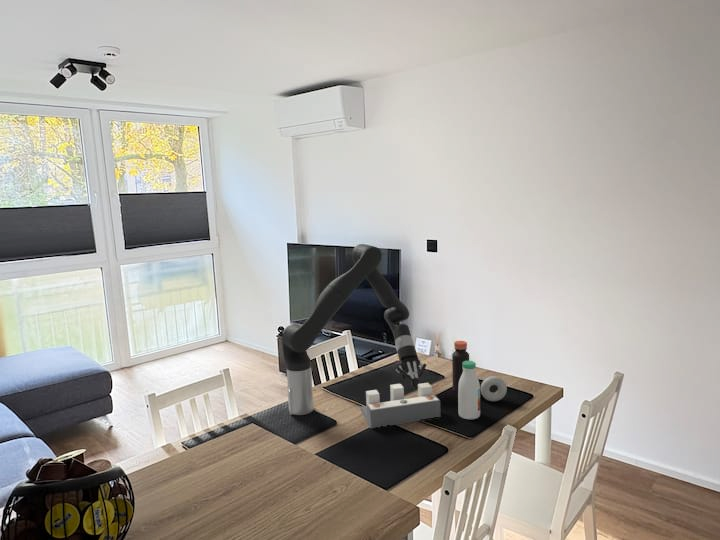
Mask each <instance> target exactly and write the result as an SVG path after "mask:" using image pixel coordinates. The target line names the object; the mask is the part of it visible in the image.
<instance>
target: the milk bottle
mask: <svg viewBox="0 0 720 540" xmlns="http://www.w3.org/2000/svg"><path fill="white" fill-rule="evenodd" d="M462 366H463V367H462V368H463V373H462V375H461V377H460V380H459V384H458V392H457V393H458V394H457V397H458V398H457V399H458V401H457V403H458V407H457V408H458V410H457V411H458V416H459V417H460V418H461V419H465V420H475V419H479V417H481V389H480V388H481V384H480V381H479V378H478V376H477V373H476V366H477V365H476V362H475V361H473V360H469V361H464V362H463V363H462Z"/></svg>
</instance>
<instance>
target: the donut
mask: <svg viewBox="0 0 720 540" xmlns="http://www.w3.org/2000/svg"><path fill="white" fill-rule="evenodd" d="M492 386H496V387H497V390H496V391H495V392H493V391H492V392H491V391H490V388H491V387H492ZM507 390H508V388H507V383H506V382H505V380H503V378H501V377H499V376H497V375H496V376H495V375H492V376H491V375H490V376H488V377H486V378H484V379H483V381H482V382H481V384H480V395H482V397H483V398H484V399H485V400H486V401H488V402H489V401H490V402H498V401H501V400H502V399H503V398H504V397H505V396H506V394H507Z"/></svg>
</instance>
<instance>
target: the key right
mask: <svg viewBox="0 0 720 540" xmlns="http://www.w3.org/2000/svg"><path fill="white" fill-rule="evenodd" d="M430 395H433V386H432V385H431V384H430V383H429V382H424V383H419V384H418V389H417V397H423V396H430Z"/></svg>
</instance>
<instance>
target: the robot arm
mask: <svg viewBox="0 0 720 540" xmlns="http://www.w3.org/2000/svg"><path fill="white" fill-rule="evenodd" d="M382 257H383V254H382V251H381V249H380V248H379V247H377V246H375V245H369V244H364V243H361V244H357V245H355V246H354V248H352V252H351V258H352V261H353V263H354V265H353V267H352V268H350V269H349V270H347V271H346V272H345V273H343V274H341V275H339V276H338V277H336V278H334V279H333V280H331V281H330V282H329V284H327V286H326V287H325V288H324V289H323V290H322V291H321V292H320V295H318V298H317V300H316V302H315V305H314V308H313V311H312V313H311V314H310V315H309V317H308V318H307V319H306V320H305V321H304V322H303V323H302V324H301V325H299V324H296V323H295V324H294V323H293V324H289V325H288V326H286V327H285V328H284V330H283V333H282V336H281V343H282V352H283V353H282V354H283V360H284V363H285V366H286V378H287V381H286V382H287V386H286V387H287V388H286V389H287V402H288V411H289V415H290V416H292V415H294V416H304V415H308V414H310V413H312V412H313V411H314V410H315V409H314V406H315V405H314V394H313V377H312V376H313V375H312V360H311V358H310V357H309V355H308V352H307V350H309V349H310V348H311V346H312V345H313V343H314V342H315V341H316V339H317V337H319V334H320V333H321V332H322V330H323V329H324V328H325V326H326V325H327V324H328V323H329V322H330V321H331V319H333V317H334V316H335V314H336V313H337V312H338V311H339V309H341V308H342V306H343V305H344V304H345V303H346V301H347V300H348V299H349V297H351V295H352V294H353V293H354V292H355V291H356V289H358V287H359V286H360V284H361V283H362V282H363V281H364V280H367V281H368V283H369V285H370V286H371V288H372V289H373V291H374V293H375V294H376V296H377V298H378V301H380V304H381V305H382V306H383V308H385V311H384V312H383V317H384V320H385V322H386V323H387V324H388V326H389V327H390V330H391V332H392V334H393V339H394V343H395V350H396V353H397V357H398V359H399V366H397V367H396V369H395V372H396V374H398V375H399V376H401V377H402V378H403V379H404V380H406V381H410V385H411V387H412V389H413V390H418V384H420V381H419V379H421V378H422V376H423V373H424V371H425V369H426V367H427V364H426V363H422V362H421V361H420V360H419V356H418V353H417V350H416V346H415V342H414V339H413V338H412V335H411V331H410V327H409V325H408V324H406V323H401V322H404V321H407V320H408V319H409V317H410V312H409V309H408V307H407V306H406V305H405V304H404V303H403V302H402V301H401V300H400V299H399V298H398V297H397V295H396V293H395V291H394V289H393V287H392V286H391V284H390V282H389V281H388V280H387V279H386V278H385V277H384V276H383V275H382V273H381V272H380V271H379V270H378V268H377V267H378V266H379V265H380V263H381V262H382V259H383V258H382ZM399 323H400V324H399ZM418 369H420V370H419V373H418Z"/></svg>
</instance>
